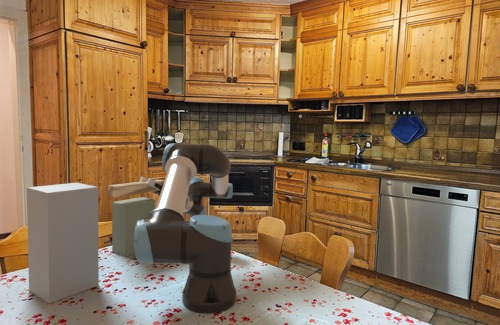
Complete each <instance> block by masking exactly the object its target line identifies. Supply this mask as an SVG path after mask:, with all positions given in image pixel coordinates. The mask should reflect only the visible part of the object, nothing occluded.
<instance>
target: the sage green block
mask: <svg viewBox="0 0 500 325" xmlns="http://www.w3.org/2000/svg"><path fill="white" fill-rule="evenodd" d="M155 208H156V199H155V198H154V199H153V198H149V197H145V196H142V197H136V198H135V197H134V198H129V199H123V200H116V201H112V203H111V209H112V210H111V212H112V213H111V216H112V217H111V218H112V220H111V224H112V225H111V226H112V228H111V232H112V233H111V236H112V237H111V240H112V241H111V243H112V244H111V246H112V247H111V250H112V253H115V254H117V255H120V256H123V257H128V256H131V255H134V254H135V248H134V233H135V226H136V223H137V221H139V220H143V219H144V220H146V219H147V216H148V214H149V213H150V212H151V211H153V210H155Z"/></svg>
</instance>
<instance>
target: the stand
mask: <svg viewBox="0 0 500 325" xmlns="http://www.w3.org/2000/svg"><path fill="white" fill-rule="evenodd" d="M26 208H27V209H26V210H27V211H26V215H27V253H28V254H27V260H28V261H27V262H28V263H27V264H28V291H29V292H30V293H31V294H33V295H35V296H36V297H38V298H40V299H42V301H44V302H46V303H48V304H53V303H55V302H58V301H61V300H63V299H66V298H69V297H71V296H73V295H74V296H75V295H76V294H77V295H78V294H79V293H82V292H84V291H87V290H90V289H92V288H95V287H97V286H99V285H100V284H99V282H100V281H99V280H100V279H99V276H100V275H99V272H100V271H99V269H100V268H99V267H100V266H99V262H100V260H99V187H98V186H95V185H90V184H84V183H81V182H70V183H61V184H49V185H48V184H47V185H38V186H30V187H26Z"/></svg>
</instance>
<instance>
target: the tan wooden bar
mask: <svg viewBox="0 0 500 325" xmlns="http://www.w3.org/2000/svg"><path fill="white" fill-rule="evenodd" d="M154 180H155V181H156V182H158V183H160V184H161V186H162V184H164V181H165V180H163V179H154ZM147 182H148V181H141V182H139V181H136V182H128V183H120V184H117V183H116V184H110V185H107V196H108V197H109V198H113V199H114V198H116V199H117V198H121V197H127V196H134V195H141V194H145V193H146V194H147V193H152V192H153V193H154V191H160V189H159V190H156V189H154V188H153V187H151V186H149V185H147Z"/></svg>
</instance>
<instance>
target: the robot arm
mask: <svg viewBox="0 0 500 325" xmlns="http://www.w3.org/2000/svg"><path fill="white" fill-rule="evenodd" d="M161 166H162V170H163V172H164V173H165V174H166V175H165V178H164V180H163V181H164V184H162V186H161V184H160V183H158V182H156V181H155V180H156V179H153V178H151V177H149V178H148V179H147V178H146V177H144V176H141V177H140V179H139V181H138V182H141V181H148V182H147V185H149V186H151V187H153V188H154V189H156V190H159V189H160V191H154V192H153V193H154V194H156V195H157V196H159V197H158V200H157V202H156V204H155V210H153V211H151V212H150V213H149V214H148V216H147V219H146V220H144V219H143V220H139V221H137V223H136V226H135V233H134V248H135V253H134V254H135V257H136V260H137V261H138V262H140V263H141V264H150V265H154V264H155V265H156V264H157V265H158V264H161V265H163V264H164V265H166V264H167V265H174V264H175V265H188V268H189V270H188V272H189V273H188V275H187V278H186V281H185V284H184V288H183V290H182V297H181V298H182V299H181V300H182V301H181V302H182V304H183V305H184V306H185V308H186V309H188V310H190V311H194V312H195V313H196V312H197V313H202V314H203V313H205V314H212V313H214V314H215V313H220V312H223V311H226V310H228V309H230V308H232V307H233V306H234V304H236V301H237V290H236V289H237V288H236V287H235V283H234V279H233V275H232V270H231V269H232V242H233V233H232V232H233V231H232V228H233V227H232V225H231V223H230V222H229V221H228V220H227V219H224V218H222V217H219V216H215V215H209V214H206V212H207V209H206V206H205V205H204V204H203V199H204V198H205V199H206V198H207V199H209V198H210V199H232V198H233V193H234V192H233V188H234V187H233V183H231V182H230V183H229V174H230V171H231V166H232V165H231V161H230V158H229V157H228V155H227V154H226V153H225V151H223V150H222V149H220V148H219V147H217V146H215V145H212V144H207V143H182V142H181V143H180V142H176V143H174V142H173V143H169V144H167V145H166V146H165V147H164V150H163V154H162V158H161ZM197 175H210V178H211V179H210V180H211V182H205V180H204V178H202V177H198V176H197ZM184 213H185V214H187V215H188V216H189V217H190V218H189V221H188V220H186V219H185V217H184Z"/></svg>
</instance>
